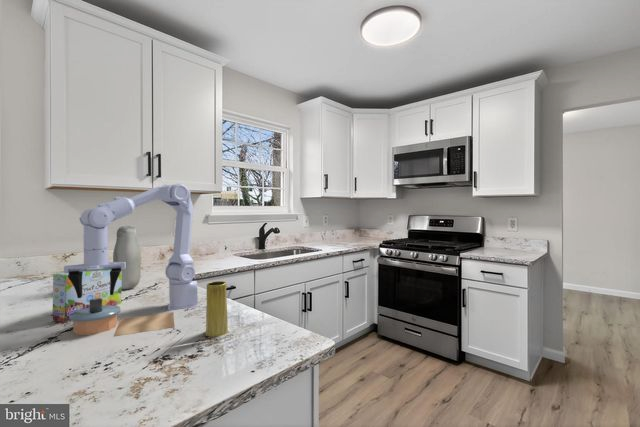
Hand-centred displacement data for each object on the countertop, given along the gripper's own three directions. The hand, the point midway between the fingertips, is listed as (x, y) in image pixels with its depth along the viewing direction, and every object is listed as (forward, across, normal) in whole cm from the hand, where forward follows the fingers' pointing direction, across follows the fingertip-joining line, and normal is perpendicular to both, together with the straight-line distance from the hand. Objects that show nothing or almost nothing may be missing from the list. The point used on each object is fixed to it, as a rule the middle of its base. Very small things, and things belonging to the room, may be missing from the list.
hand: (96, 295), depth 91 cm
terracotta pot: (+10, 0, 0) cm, 10 cm away
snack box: (+10, -5, +21) cm, 24 cm away
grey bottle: (+10, +3, +52) cm, 53 cm away
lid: (+5, 0, 0) cm, 5 cm away
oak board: (+10, +13, -2) cm, 16 cm away
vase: (+10, +31, -19) cm, 38 cm away
